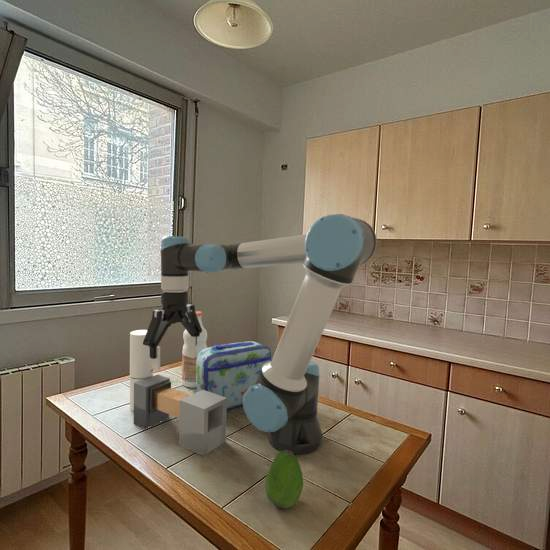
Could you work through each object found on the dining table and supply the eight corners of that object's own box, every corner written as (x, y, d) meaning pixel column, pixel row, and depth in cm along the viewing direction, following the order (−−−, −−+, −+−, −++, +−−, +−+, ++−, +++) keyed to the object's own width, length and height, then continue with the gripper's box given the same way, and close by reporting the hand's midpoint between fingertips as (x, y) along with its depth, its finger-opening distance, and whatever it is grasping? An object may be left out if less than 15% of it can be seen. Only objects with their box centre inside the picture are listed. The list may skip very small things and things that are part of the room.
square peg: (208, 419, 105) (208, 394, 105) (189, 429, 99) (189, 403, 99) (158, 400, 117) (159, 377, 116) (139, 408, 111) (139, 384, 110)
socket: (169, 417, 116) (169, 378, 115) (145, 429, 108) (145, 387, 107) (157, 412, 119) (157, 374, 118) (133, 423, 111) (133, 382, 110)
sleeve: (225, 441, 103) (226, 397, 102) (203, 456, 96) (204, 409, 95) (202, 431, 108) (202, 389, 107) (178, 444, 101) (179, 399, 100)
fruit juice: (179, 380, 146) (180, 310, 144) (203, 377, 150) (204, 309, 148) (184, 389, 138) (185, 315, 135) (209, 386, 141) (211, 314, 139)
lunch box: (204, 418, 116) (205, 352, 114) (192, 405, 125) (193, 344, 123) (274, 401, 131) (276, 343, 129) (258, 390, 140) (260, 335, 138)
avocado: (294, 522, 74) (297, 465, 73) (259, 510, 77) (261, 455, 76) (306, 497, 82) (309, 445, 81) (273, 487, 85) (275, 437, 84)
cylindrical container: (156, 403, 126) (157, 330, 123) (147, 412, 118) (147, 335, 116) (136, 401, 126) (136, 329, 124) (125, 410, 119) (125, 334, 117)
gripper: (196, 285, 119) (195, 351, 121) (128, 293, 98) (129, 372, 99) (213, 287, 115) (213, 355, 117) (147, 296, 94) (148, 378, 95)
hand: (174, 363), depth 108 cm, fingers open, 13 cm apart
